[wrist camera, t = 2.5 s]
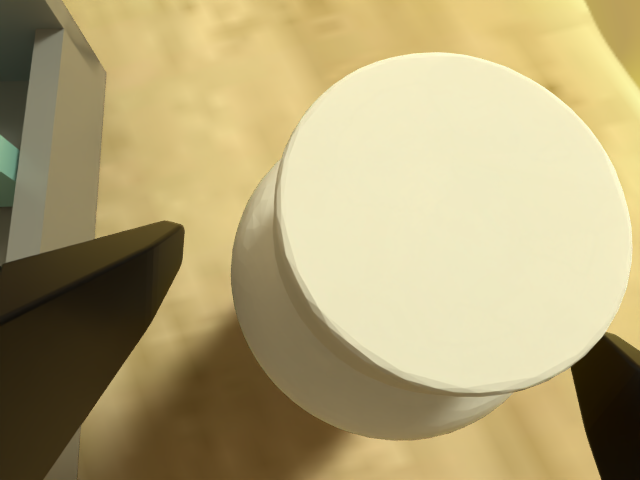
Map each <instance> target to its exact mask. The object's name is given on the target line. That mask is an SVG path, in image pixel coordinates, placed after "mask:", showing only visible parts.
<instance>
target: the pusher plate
mask: <svg viewBox="0 0 640 480" xmlns="http://www.w3.org/2000/svg"><path fill="white" fill-rule="evenodd" d="M19 155H20V150H19V149H17V148H16V147H15V146H14V145H12V144H11V143H10V142H9V141H7V140H6V139H5V138H4V137H2V136H1V135H0V207H11V206H13V202H14V194H15V186H16V179H17V171H18V163H19Z"/></svg>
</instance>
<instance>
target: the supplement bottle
mask: <svg viewBox="0 0 640 480" xmlns="http://www.w3.org/2000/svg"><path fill="white" fill-rule="evenodd" d="M631 261H632V231H631V222H630V217H629V211H628V207H627V204H626V200H625V196H624V193H623V190H622V187H621V184H620V182H619V179H618V176H617V174H616V171H615V168H614V167H613V165H612V163H611V161H610V159H609V157H608V155H607V154H606V152H605V150H604V149H603V147H602V146H601V144H600V142H599V141H598V139H597V138H596V137H595V135H594V134H593V133H592V131H591V130H590V129H589V128H588V127H587V125H586V124H585V123H584V122H583V121H582V120H581V119H580V118H579V117H578V116H577V115H576V114H575V112H574V111H573V110H572V109H571V108H569V107H568V106H567V105H566V104H565V103H563V102H562V101H561V100H560V99H559V98H557V97H556V96H555V95H554V94H552V93H551V92H550V91H548V90H547V89H546V88H544V87H542V86H541V85H539V84H538V83H536V82H534V81H533V80H531V79H529V78H527V77H525V76H523V75H521V74H519V73H518V72H516V71H514V70H512V69H510V68H508V67H505V66H502V65H499V64H496V63H493V62H490V61H487V60H484V59H480V58H476V57H472V56H467V55H461V54H453V53H441V52H437V53H415V54H409V55H402V56H397V57H392V58H388V59H385V60H381V61H378V62H375V63H372V64H370V65H367V66H365V67H362V68H360V69H358V70H356V71H354V72H352V73H351V74H349V75H347V76H345V77H344V78H342V79H341V80H339V81H338V82H337V83H335V84H334V85H332V86H331V87H330V88H329V89H328V90H327V91H326V92H324V93H323V94H322V95H321V96H320V97H319V98H318V99H317V100H316V101H315V102H314V103H313V104H312V105H311V106H310V108H309V109H308V110H307V111H306V113H305V114H304V116H303V117H302V119H301V120H300V122H299V123H298V125H297V126H296V128H295V129H294V131H293V133H292V135H291V137H290V139H289V141H288V143H287V145H286V147H285V149H284V152H283V155H282V158H281V159H280V160H279V161H278V162H277V163H276V164H275V165H274V166H273V167H272V168H271V169H270V171H269V172H268V173H267V174H266V175H265V176H264V178H263V179H262V180H261V181H260V183H259V184H258V186H257V187H256V189H255V190H254V192H253V194H252V195H251V197H250V199H249V200H248V203H247V205H246V207H245V210H244V212H243V215H242V217H241V220H240V223H239V226H238V229H237V232H236V236H235V241H234V246H233V252H232V263H231V286H232V294H233V300H234V306H235V310H236V314H237V318H238V321H239V324H240V327H241V329H242V332H243V335H244V337H245V339H246V341H247V344H248V346H249V348H250V349H251V351H252V353H253V355H254V356H255V358H256V360H257V361H258V363H259V364H260V366H261V367H262V369H263V370H264V371H265V373H266V374H267V375H268V377H269V378H270V379H271V380H272V381H273V383H274V384H275V385H276V386H277V387H278V388H279V389H280V390H281V391H282V392H283V393H284V394H285V395H286V396H288V397H289V398H290V399H291V400H292V401H293V402H294V403H296V404H297V405H298V406H300V407H301V408H302V409H304V410H305V411H307V412H308V413H310V414H311V415H313V416H315V417H317V418H318V419H320V420H322V421H324V422H326V423H328V424H330V425H332V426H335V427H337V428H339V429H341V430H344V431H348V432H351V433H354V434H358V435H361V436H365V437H369V438H377V439H385V440H419V439H426V438H432V437H436V436H440V435H443V434H447V433H451V432H453V431H456V430H458V429H461V428H463V427H465V426H468V425H470V424H472V423H474V422H476V421H477V420H479V419H481V418H483V417H485V416H486V415H487V414H489V413H490V412H492V411H493V410H494V409H496V408H497V407H498V406H500V405H501V404H502V403H503V402H504V401H505V400H506V399H507V398H508V397H510V396H511V395H512V394H513V393H514V392H517V391H521V390H525V389H527V388H530V387H533V386H536V385H539V384H541V383H543V382H546V381H548V380H550V379H551V378H553V377H555V376H556V375H558V374H560V373H562V372H564V371H565V370H567V369H569V368H570V367H571V366H572V365H574V364H575V363H576V362H577V361H579V360H580V359H581V358H583V357H584V356H585V355H586V354H587V353H588V352H589V351H590V350H591V348H592V347H593V346H594V345H595V344H596V343H597V342H598V341H599V340H600V339H601V338H602V337H603V335H604V333H605V332H606V330H607V329H608V327H609V325H610V324H611V322H612V320H613V319H614V317H615V315H616V313H617V312H618V310H619V307H620V304H621V302H622V299H623V297H624V294H625V291H626V289H627V284H628V278H629V273H630V268H631Z"/></svg>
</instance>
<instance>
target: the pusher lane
mask: <svg viewBox="0 0 640 480" xmlns="http://www.w3.org/2000/svg"><path fill="white" fill-rule="evenodd" d="M105 84H106V71H105V70H104V68H103V66H102V65H101V63H100V61H99V60H98V58H97V57H96V55H95V53H94V52H93V50H92V48H91V47H90V45H89V44H88V42H87V40H86V39H85V37H84V35H83V34H82V32H81V31H80V29H79V27H78V26H77V24H76V22H75V21H74V19H73V18H72V16H71V14H70V13H69V11H68V9H67V8H66V6H65V5H64V3H63V1H62V0H0V135H1V136H2V137H4V138H5V139H6V140H7V141H9V142H10V143H11V144H12V145H14V146H15V147H16V148H17V149H19V150H20V155H19V163H18V171H17V179H16V186H15V194H14V202H13V206H11V207H0V266H2V264H3V263H7V262H10V261H14V260H18V259H22V258H25V257H29V256H33V255H37V254H40V253H44V252H48V251H52V250H55V249H59V248H63V247H67V246H70V245H74V244H78V243H82V242H85V241H89V240H93V239H94V236H95V222H96V208H97V194H98V181H99V167H100V153H101V139H102V125H103V112H104V98H105ZM80 429H81V426H80V427H79V429H78V430H77V432H76V433H75V435H74V436H73V438H72V439H71V441H70V442H69V443H68V445H67V446H66V448H65V449H64V451H63V452H62V454H61V455H60V456H59V458H58V459H57V461H56V462H55V464H54V465H53V467H52V468H51V470H50V471H49V472H48V474H47V475H46V477H45V478H44V480H77V470H78V457H79V443H80Z"/></svg>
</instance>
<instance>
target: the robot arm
mask: <svg viewBox="0 0 640 480" xmlns="http://www.w3.org/2000/svg"><path fill="white" fill-rule="evenodd" d="M184 234H185V231H184V227H183V225H181V224H178V223H174V222H170V221H160V222H157V223H153V224H149V225H145V226H142V227H138V228H134V229H130V230H127V231H123V232H119V233H115V234H112V235H108V236H104V237H100V238H97V239H93V240H89V241H85V242H82V243H78V244H74V245H70V246H67V247H63V248H59V249H55V250H52V251H48V252H44V253H40V254H37V255H33V256H29V257H25V258H22V259H18V260H14V261H10V262H7V263H3V264H2V266H0V480H44V478H45V477H46V475H47V474H48V472H49V471H50V470H51V468H52V467H53V465H54V464H55V462H56V461H57V459H58V458H59V456H60V455H61V454H62V452H63V451H64V449H65V448H66V446H67V445H68V443H69V442H70V441H71V439H72V438H73V436H74V435H75V433H76V432H77V430H78V429H79V427H80V426H81V425H82V423H83V422H84V420H85V419H86V417H87V416H88V414H89V413H90V411H91V410H92V409H93V407H94V406H95V404H96V403H97V401H98V400H99V398H100V397H101V395H102V394H103V393H104V391H105V390H106V388H107V387H108V385H109V384H110V382H111V381H112V380H113V378H114V377H115V375H116V374H117V372H118V371H119V369H120V368H121V366H122V365H123V364H124V362H125V361H126V359H127V358H128V356H129V355H130V353H131V352H132V350H133V349H134V348H135V346H136V345H137V343H138V342H139V340H140V339H141V337H142V336H143V334H144V333H145V332H146V330H147V328H148V327H149V325H150V324H151V322H152V320H153V318H154V317H155V315H156V313H157V311H158V309H159V307H160V305H161V303H162V301H163V299H164V298H165V296H166V294H167V292H168V290H169V288H170V286H171V284H172V282H173V280H174V278H175V276H176V274H177V272H178V271H179V269H180V266H181V263H182V259H183V247H184ZM571 371H572V376H573V380H574V384H575V389H576V393H577V398H578V402H579V406H580V411H581V415H582V420H583V424H584V428H585V432H586V435H587V438H588V442H589V445H590V448H591V451H592V454H593V457H594V460H595V463H596V465H597V468H598V471H599V474H600V477H601V480H640V351H639V350H637V349H636V348H634V347H633V346H632V345H630V344H629V343H627V342H626V341H624V340H623V339H621V338H620V337H618V336H616V335H615V334H612V333H608V332H605V333H604V335H603V337H602V338H601V339H600V340H599V341H598V342H597V343H596V344H595V345H594V346H593V347H592V348H591V350H590V351H589V352H588V353H587V354H586V355H585V356H584V357H583V358H581V359H580V360H579V361H577V362H576V363H575V364H574V365H572V366H571Z"/></svg>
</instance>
